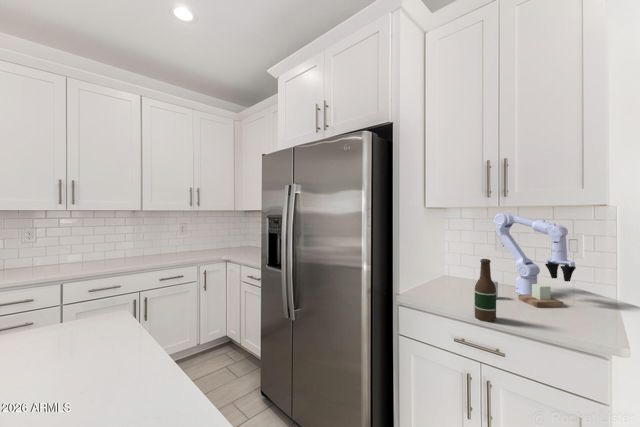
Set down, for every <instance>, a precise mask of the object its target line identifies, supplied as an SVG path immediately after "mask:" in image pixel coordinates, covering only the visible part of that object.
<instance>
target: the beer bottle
mask: <svg viewBox="0 0 640 427" xmlns="http://www.w3.org/2000/svg"><path fill="white" fill-rule="evenodd" d="M491 263H492V262H491V260H490V259H488V258H481V259H480V274H479V278H478V279H479V280H478V279H477V280H476V282H475V286H474V318H475V319H477V320H478V321H480V322H487V323H493V322H495V321H496V319H497V299H496V287H495V284H494V283H493V281H492V280H493V279H492V276H491Z"/></svg>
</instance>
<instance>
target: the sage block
mask: <svg viewBox="0 0 640 427" xmlns="http://www.w3.org/2000/svg"><path fill="white" fill-rule="evenodd" d="M551 289H552V287H551V286H550V285H547V284H544V283H537V284H532V297H534V298H537V299H539V300H551V297H552V296H551V295H552V294H551V292H552V291H551Z"/></svg>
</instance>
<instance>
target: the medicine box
mask: <svg viewBox="0 0 640 427" xmlns="http://www.w3.org/2000/svg"><path fill="white" fill-rule="evenodd" d="M478 280H479V278H478V279H477V281H478ZM491 280H492V281H493V283H494V284H495V287H496V300H497V299H498V296H499V294H498V293H499V287H498V286H499V282H498V280H495V279H491Z"/></svg>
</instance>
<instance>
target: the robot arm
mask: <svg viewBox="0 0 640 427" xmlns="http://www.w3.org/2000/svg"><path fill="white" fill-rule="evenodd" d="M493 224H494V226H495V233H496V235H497V236H498V238H499V239H500V240H501V242H502V243H503V245H504V246H505V248H506V249H507V251H508V252H509V253H510V255H511V256H512V258H513V260H514V261H515V267H516V269H517V274H518V276H517V277H516V278H515V290H513V292H515V293H517V294H518V295H524V294H532V284H538V275H539V274H540V271H541V270H540V267H539V265H538V264H536V263H534V261H533V260H531V259H530V258H528V257H527V256H526V254H525V253H524V251H523V250H522V248H521V247H520V246H519V244H518V243H517V241H516V240H515V238H513V236H512V234H511V233H510V229H511V227H512V226H513V225H514V224H518V225H519V224H520V225H524V226H526V227H531V228H532V229H533V231H534V232H538V233H541V234H545V235H547V236H548V237H550V246H551V258H545V264H544V265H545V267H546V268H547V270H548V272H549V274H550V278H551V279H558V270H559V266H560V269H561V271H562V273H563V274H562V275H563V279H564V280H563V281H564V282H571V279H572V276H573V273H574V272H575V270H576V269H577V267H576V263H575V261H571V260H568V251H567V250H568V249H567V237H566V236H567V235H568V234H569V231H568V229H567V227H566V226H564V225H561V224H560V225H557V224H556V223H553V222H551V223H550V222H547V221H546V220H544V219H538V220H533V219H529V218H526V217H523V216H521V215H519V214H512V213H497V214H496V215H495V217H494V218H493Z"/></svg>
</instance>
